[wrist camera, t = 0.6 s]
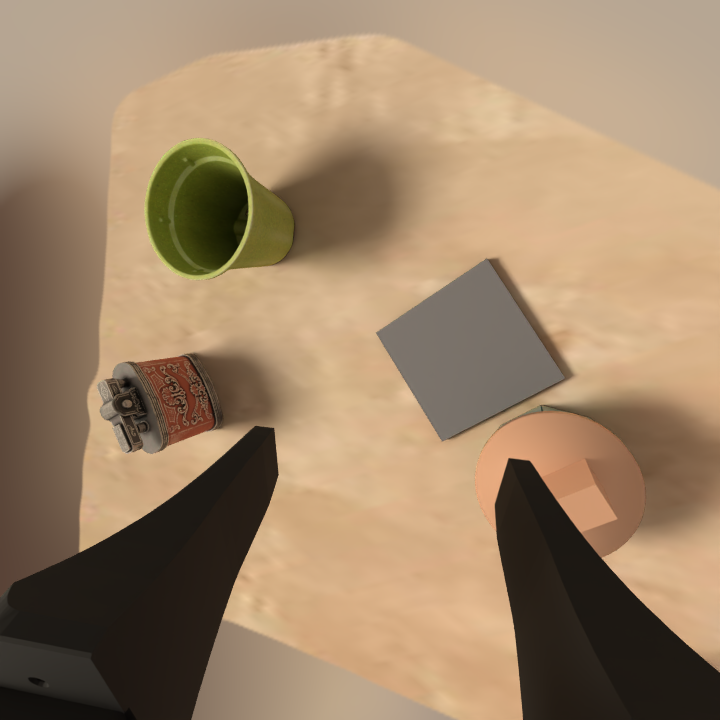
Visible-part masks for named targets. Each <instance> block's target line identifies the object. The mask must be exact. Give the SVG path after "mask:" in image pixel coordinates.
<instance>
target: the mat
mask: <svg viewBox="0 0 720 720" xmlns="http://www.w3.org/2000/svg"><path fill="white" fill-rule="evenodd" d="M376 334H377V335H378V337H379V339H380V340H381V342H382V344H383V345H384V347H385V349H386V350H387V352H388V353H389V355H390V357H391V358H392V360H393V362H394V363H395V365H396V367H397V368H398V370H399V371H400V373H401V375H402V376H403V378H404V380H405V381H406V383H407V385H408V386H409V388H410V390H411V391H412V393H413V394H414V396H415V398H416V399H417V401H418V403H419V404H420V406H421V408H422V409H423V411H424V413H425V414H426V416H427V417H428V419H429V421H430V422H431V424H432V426H433V427H434V429H435V431H436V432H437V434H438V436H439V437H440V439H441V440H442V441H444V440H446V439H448V438H450V437H452V436H454V435H456V434H458V433H460V432H462V431H464V430H466V429H468V428H470V427H471V426H473V425H475V424H477V423H479V422H481V421H483V420H485V419H487V418H489V417H491V416H493V415H495V414H497V413H499V412H501V411H503V410H505V409H507V408H508V407H510V406H512V405H514V404H516V403H518V402H520V401H522V400H524V399H526V398H528V397H530V396H532V395H534V394H536V393H538V392H540V391H542V390H544V389H546V388H547V387H549V386H551V385H553V384H555V383H557V382H559V381H561V380H563V379H565V377H564V376H563V374H562V373H561V371H560V370H559V368H558V366H557V365H556V363H555V362H554V360H553V359H552V357H551V356H550V354H549V353H548V351H547V350H546V348H545V347H544V345H543V343H542V342H541V340H540V339H539V337H538V336H537V334H536V333H535V331H534V330H533V328H532V327H531V325H530V324H529V322H528V320H527V319H526V317H525V316H524V314H523V313H522V311H521V310H520V308H519V307H518V305H517V304H516V302H515V301H514V299H513V297H512V296H511V294H510V293H509V291H508V290H507V288H506V287H505V285H504V284H503V282H502V281H501V279H500V278H499V276H498V275H497V273H496V271H495V270H494V268H493V267H492V265H491V264H490V262H489V261H488V259H485V260H484V261H482V262H481V263H479V264H478V265H476V266H475V267H473V268H472V269H470V270H469V271H467V272H466V273H464V274H463V275H461V276H460V277H458V278H457V279H455V280H454V281H453V282H451V283H450V284H448V285H447V286H445V287H444V288H442V289H441V290H439V291H438V292H436V293H435V294H433V295H432V296H430V297H429V298H427V299H426V300H424V301H423V302H421V303H420V304H418V305H417V306H415V307H414V308H412V309H411V310H409V311H408V312H406V313H405V314H403V315H402V316H400V317H399V318H397V319H396V320H394V321H393V322H391V323H390V324H389V325H387V326H386V327H384V328H383V329H381V330H380V331H378V332H377V333H376Z"/></svg>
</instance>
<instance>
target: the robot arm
mask: <svg viewBox="0 0 720 720" xmlns="http://www.w3.org/2000/svg"><path fill="white" fill-rule="evenodd" d="M278 475H279V474H278V464H277V453H276V443H275V432H274V428H268V427H260V426H255V427H254V428H252V429H251V430H250V431H249V432H248V433H247V434H246V435H245V436H244V437H243V438H242V439H240V440H239V441H238V442H237V443H236V444H235V445H234V446H233V447H232V448H231V449H230V450H229V451H227V452H226V453H225V454H224V455H223V456H222V457H221V458H220V459H218V460H217V461H216V462H215V463H214V464H213V465H212V466H210V467H209V468H208V469H207V470H206V471H205V472H203V473H202V474H201V475H200V476H199V477H197V478H196V479H195V480H193V481H192V482H191V483H190V484H188V485H187V486H186V487H185V488H183V489H182V490H181V491H180V492H178V493H177V494H176V495H174V496H173V497H172V498H170V499H169V500H167V501H166V502H165V503H163V504H162V505H160V506H159V507H157V508H156V509H154V510H153V511H151V512H150V513H148V514H147V515H145V516H144V517H142V518H141V519H139V520H137V521H136V522H134V523H132V524H131V525H129V526H127V527H126V528H124V529H122V530H121V531H119V532H117V533H116V534H114V535H112V536H110V537H109V538H107V539H105V540H103V541H101V542H99V543H97V544H96V545H94V546H92V547H90V548H88V549H86V550H84V551H82V552H80V553H78V554H76V555H74V556H72V557H71V558H68V559H66V560H64V561H62V562H60V563H57V564H55V565H53V566H51V567H49V568H46V569H44V570H42V571H40V572H37V573H35V574H33V575H31V576H28V577H26V578H24V579H22V580H19V581H17V582H14V583H13V584H12V585H11V586H10V588H8V590H7V591H6V592H5V593H4V594H3V595H2V596H1V597H0V720H191V718H192V714H193V711H194V708H195V704H196V701H197V697H198V693H199V690H200V687H201V684H202V680H203V677H204V674H205V670H206V667H207V664H208V661H209V657H210V654H211V651H212V648H213V645H214V642H215V638H216V636H217V633H218V629H219V626H220V623H221V620H222V617H223V614H224V611H225V608H226V606H227V603H228V600H229V597H230V594H231V591H232V588H233V585H234V583H235V580H236V578H237V575H238V573H239V570H240V568H241V566H242V564H243V562H244V559H245V557H246V555H247V553H248V551H249V548H250V546H251V544H252V542H253V540H254V537H255V535H256V533H257V531H258V529H259V526H260V524H261V522H262V520H263V517H264V515H265V513H266V511H267V508H268V506H269V504H270V500H271V497H272V494H273V491H274V488H275V485H276V481H277V478H278ZM495 519H496V532H497V540H498V546H499V551H500V556H501V561H502V567H503V572H504V577H505V582H506V587H507V592H508V597H509V602H510V607H511V612H512V617H513V623H514V630H515V638H516V647H517V657H518V667H519V677H520V689H521V700H522V711H523V720H720V673H719V672H718V671H717V670H716V669H715V668H713V667H712V666H711V665H710V664H709V663H708V662H707V661H705V660H704V659H703V658H702V657H701V656H700V655H698V654H697V653H696V652H695V651H694V650H693V649H691V648H690V647H689V646H688V645H687V644H686V643H685V642H684V641H682V640H681V639H680V638H679V637H678V636H677V635H676V634H675V633H674V632H673V631H671V630H670V629H669V628H668V627H667V626H666V625H665V624H664V623H663V622H662V621H661V620H660V619H659V618H658V617H657V616H656V615H655V614H654V613H653V612H652V611H651V610H649V609H648V608H647V607H646V606H645V605H644V604H643V603H642V602H641V601H640V600H639V599H638V598H637V597H636V596H635V595H634V594H633V593H632V592H631V591H630V589H629V588H628V587H627V586H626V585H625V584H624V583H623V582H622V581H621V580H620V579H619V578H618V576H617V575H616V574H615V573H614V572H613V571H612V570H611V569H610V568H609V567H608V565H607V564H606V563H605V562H604V561H603V560H602V558H601V557H600V556H599V555H598V554H597V552H596V551H595V550H594V549H593V547H592V546H591V545H590V544H589V543H588V541H587V540H586V539H585V538H584V536H583V535H582V534H581V532H580V531H579V530H578V529H577V527H576V526H575V524H574V523H573V522H572V520H571V519H570V518H569V516H568V515H567V514H566V512H565V511H564V510H563V508H562V507H561V505H560V504H559V503H558V501H557V500H556V498H555V497H554V495H553V494H552V492H551V491H550V489H549V488H548V487H547V485H546V484H545V482H544V481H543V479H542V478H541V476H540V475H539V473H538V471H537V470H536V468H535V467H534V465H533V464H532V463H531V461H529V460H521V459H513V458H508V461H507V465H506V468H505V471H504V475H503V478H502V481H501V485H500V488H499V491H498V495H497V498H496V501H495Z"/></svg>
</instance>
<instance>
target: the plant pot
mask: <svg viewBox="0 0 720 720" xmlns="http://www.w3.org/2000/svg"><path fill="white" fill-rule="evenodd" d="M248 209H249V212H248V214H247V216H245V215H246V212H247V210H248ZM144 214H145V222H146V226H147V232H148V236H149V239H150V242H151V245H152V247H153V249H154V251H155V252H156V254H157V255H158V257H159V259H160V260H161V261H162V262H163V264H165V265H166V266H167V267H168V268H169V269H170V270H171V271H172V272H174V273H175V274H177V275H179V276H181V277H184V278H187V279H191V280H207V279H211V278H215V277H217V276H219V275H221V274H223V273H225V272H226V271H227V270H229V269H238V268H249V267H262V266H270V265H273V264H275V263H277V262H279V261H280V260H282V259H283V258H284V257H285V256H286V254H287V253H288V251H289V250H290V248H291V246H292V243H293V232H294V225H295V224H294V219H293V216H292V213H291V211H290V209H289V207H288V206H287V205H286V204H285V202H284V201H282V200H281V199H280V198H279V197H277V196H276V195H275V194H273V193H272V192H271V191H269V190H268V189H267V188H265V187H264V186H263V185H261V184H260V183H259V182H257V181H256V180H255V179H254V178H252V177H251V176H250V175H249V173H248V172H247V170H246V168H245V167H244V165H243V164H242V162H241V161H240V159H239V158H238V157H237V156H236V155H235V154H234V153H233V152H232V151H231V150H230V149H228V148H227V147H225V146H224V145H222V144H221V143H219V142H216V141H214V140H211V139H206V138H193V139H188V140H185V141H182V142H180V143H178V144H177V145H175V146H174V147H172V148H171V149H170V150H169V151H167V152H166V153H165V154H164V155H163V157H162V158H161V159H160V161H159V163H158V164H157V166H156V167H155V169H154V171H153V173H152V175H151V178H150V181H149V184H148V187H147V191H146V198H145V210H144Z"/></svg>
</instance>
